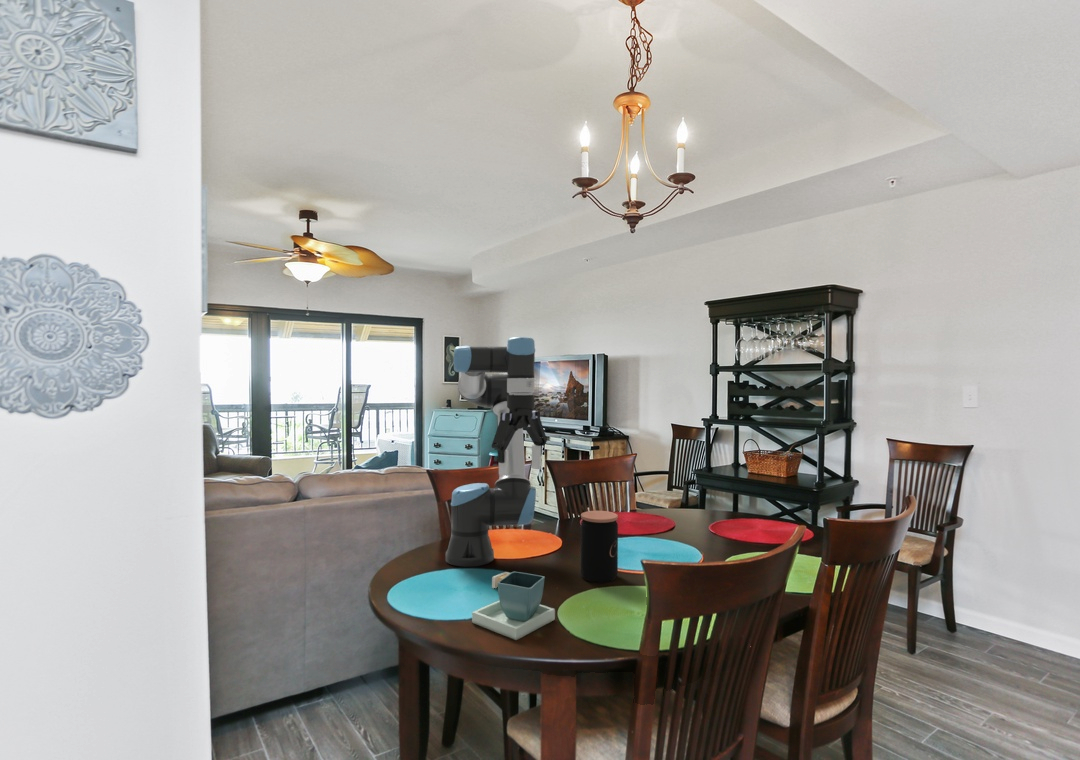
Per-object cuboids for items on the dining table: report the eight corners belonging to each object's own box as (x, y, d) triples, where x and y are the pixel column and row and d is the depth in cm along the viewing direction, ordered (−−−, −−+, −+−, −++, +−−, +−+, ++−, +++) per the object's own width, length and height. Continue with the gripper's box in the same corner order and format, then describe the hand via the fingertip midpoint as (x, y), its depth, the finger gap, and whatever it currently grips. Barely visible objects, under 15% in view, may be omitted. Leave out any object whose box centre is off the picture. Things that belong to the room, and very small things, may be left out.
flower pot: (545, 612, 138) (545, 575, 138) (530, 627, 130) (530, 588, 130) (512, 606, 142) (512, 570, 141) (496, 620, 133) (496, 582, 133)
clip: (492, 587, 156) (492, 576, 156) (505, 582, 160) (505, 571, 160) (523, 598, 148) (523, 586, 148) (537, 592, 153) (537, 581, 153)
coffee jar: (616, 585, 158) (616, 520, 158) (578, 582, 160) (578, 518, 160) (618, 572, 169) (619, 511, 169) (582, 569, 171) (583, 509, 171)
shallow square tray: (472, 622, 133) (472, 612, 133) (511, 604, 144) (511, 594, 144) (516, 640, 125) (516, 628, 125) (554, 619, 135) (554, 609, 135)
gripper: (499, 395, 143) (499, 479, 144) (559, 393, 163) (559, 467, 163) (478, 394, 148) (478, 476, 148) (539, 392, 168) (538, 465, 168)
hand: (520, 471), depth 156 cm, fingers open, 13 cm apart
